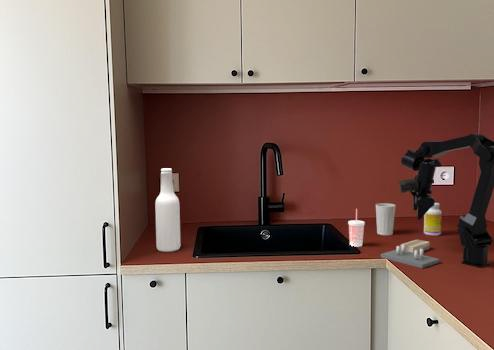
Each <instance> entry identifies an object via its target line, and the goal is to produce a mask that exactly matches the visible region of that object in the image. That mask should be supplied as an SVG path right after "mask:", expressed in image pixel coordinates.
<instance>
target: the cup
mask: <svg viewBox="0 0 494 350" xmlns="http://www.w3.org/2000/svg"><path fill="white" fill-rule="evenodd" d="M396 207H397V206H396V204H393V203H387V202H385V203H383V202H382V203H376V204H375V213H376V214H375V215H376V216H375V217H376V219H375V220H376V233H377V235H380V236H391V235H393V234H394V225H395V224H394V223H395V215H396V214H395V212H396Z"/></svg>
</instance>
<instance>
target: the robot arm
mask: <svg viewBox="0 0 494 350" xmlns="http://www.w3.org/2000/svg"><path fill="white" fill-rule="evenodd" d="M466 148H471V149H472V151H473V154H475V155H476V156H477V157H478V158H479V159H478V165H479V169H480V173H479V177H478V180H477V184H476V188H475V191H474V194H473V197H472V199H471V204H470V207H469V211H468V213H466V214H463V215H460V217H459V219H458V224H457V225H456V227H457V233H458V235H459V240H460V244H461V246H464V247H463V249H462V261H461V264H465V265H469V266H472V267H478V268H482V267H485V266H487V265H490V264H491V263H490V261H488V258H489V257H488V256H489V246H492V244H493V241H494V239H493V238H492V236H491V234H490V233H489V232H488V231H487V228H488V226H487V225H488V222H487V219H486V214H487V210H488V207H489V204H490V201H491V198H492V195H493V193H494V140H492V139H491V138H488V137H487V136H485V135H484V134H483V133H469V134H468V135H464V136H458V137H456V138H455V137H454V138H452V139H451V138H450V139H447V140H440V141H439V140H438V141H436V140H435V141H433V140H431V141H422V142H421V143H420V146H419V147H418V148H417V149H416V151H415V150H414V149H407V152H406V153H404V155H403V156H402V157H401V160H400V161H401V165H402V166H403V167H405V168H407V169H409V170H412V171H413V172H414V171H415V172H417V173H416V174H415V175H414V177H413V178H409V179H404V180H398V185H399V190H400V193H402V194H404V193H406V192H410V194H411V195H412V208H413V211H416V213H417V214H416V219H417V220H419V221H420V220H422V219H423V217H424V215H425V213H426V212H427V211H428V210H429V209H430V208H431V207H433V206H434V204H435V203H436V201H435V199H434V196H432V193H433V192H432V186H433V184H434V183H435V180H434V177H435V174H436V168H438V167H443V165H442V163H441V162H440V161H439V159H438V158H440V157H442V156H445V155H446V154H448V153H450V152H451V151H457V150H462V149H466ZM433 158H434V159H433ZM435 158H437V159H435Z"/></svg>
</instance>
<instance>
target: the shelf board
mask: <svg viewBox="0 0 494 350" xmlns="http://www.w3.org/2000/svg"><path fill="white" fill-rule="evenodd" d="M402 245H405V251H408V252H413V253H414V251H415V250H418V254H420V249H424V252H425V251H427V250H430V241H426V240H421V239H414V240H411V241H408V242H404V243H401V244H400V245H399V246H400V250H402Z"/></svg>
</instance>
